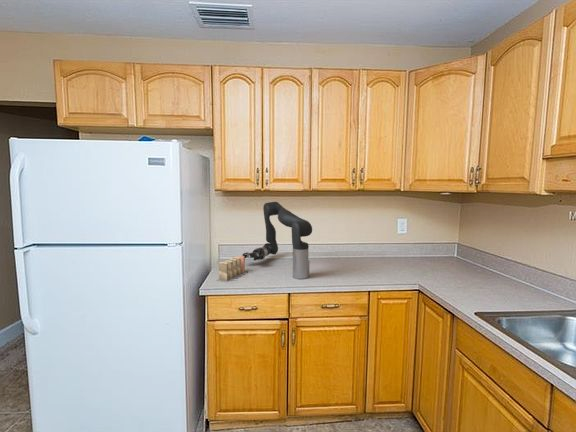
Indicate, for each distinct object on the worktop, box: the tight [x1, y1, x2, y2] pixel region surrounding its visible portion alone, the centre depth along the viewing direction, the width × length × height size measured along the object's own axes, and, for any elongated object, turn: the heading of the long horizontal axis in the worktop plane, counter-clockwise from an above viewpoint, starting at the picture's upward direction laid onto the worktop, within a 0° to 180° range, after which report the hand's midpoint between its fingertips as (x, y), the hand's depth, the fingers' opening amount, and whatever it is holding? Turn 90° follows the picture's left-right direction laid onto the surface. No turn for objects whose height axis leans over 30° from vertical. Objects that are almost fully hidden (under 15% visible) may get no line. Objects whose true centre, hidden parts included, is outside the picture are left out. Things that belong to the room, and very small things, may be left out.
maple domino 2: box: [223, 260, 233, 279], centre depth 191 cm, size 2×5×10 cm, turn 67°
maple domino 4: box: [231, 256, 241, 275], centre depth 199 cm, size 2×5×10 cm, turn 67°
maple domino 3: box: [227, 258, 237, 277], centre depth 195 cm, size 2×5×10 cm, turn 67°
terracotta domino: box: [236, 255, 246, 273], centre depth 203 cm, size 2×5×10 cm, turn 67°
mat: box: [215, 271, 249, 283], centre depth 196 cm, size 23×8×1 cm, turn 157°
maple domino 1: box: [218, 261, 228, 281], centre depth 187 cm, size 2×5×10 cm, turn 67°
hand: (248, 258), depth 212 cm, fingers open, 8 cm apart
